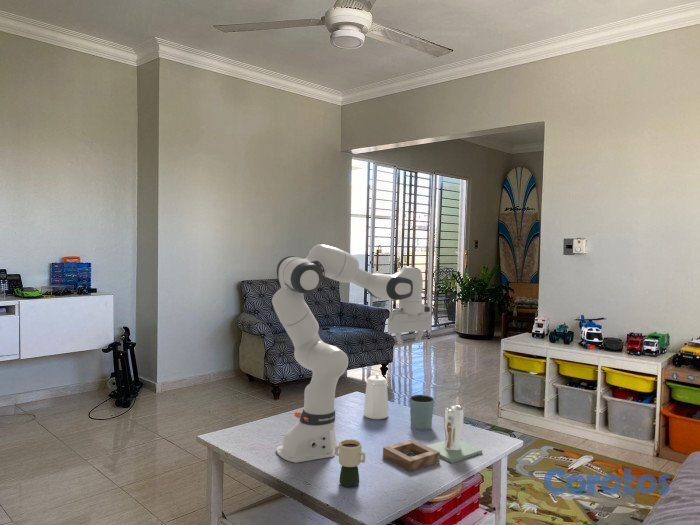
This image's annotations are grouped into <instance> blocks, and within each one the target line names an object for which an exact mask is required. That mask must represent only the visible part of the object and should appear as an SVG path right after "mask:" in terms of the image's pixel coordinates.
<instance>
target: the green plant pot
mask: <svg viewBox="0 0 700 525" xmlns="http://www.w3.org/2000/svg"><path fill="white" fill-rule="evenodd" d="M434 404H435V398H434V397H432V396H430V395H427V394H413V395H411V396H410V397H409V408H410V409H409V412H410V416H409V417H410V427H411V428H412V427H413V428H412V429H414V428H415V429H414V430H417V429H420V430H419V431H428V429H429V430H431V429H432V426H433V414H434Z"/></svg>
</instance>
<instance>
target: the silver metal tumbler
mask: <svg viewBox="0 0 700 525" xmlns="http://www.w3.org/2000/svg"><path fill="white" fill-rule="evenodd" d="M443 412H444V415H443V426H444V427H443V428H444V433H445V439H444V440H445V445H444V448H445V449H446V450H449V451H460V450H461V444H460V441H461V436H462V432H463V426H464V408H463V407H462V406H460V405H455V404H454V405H453V404H448V405H446V406H445V407H444V411H443Z"/></svg>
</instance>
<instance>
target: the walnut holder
mask: <svg viewBox="0 0 700 525" xmlns="http://www.w3.org/2000/svg"><path fill="white" fill-rule="evenodd" d="M411 452H412V454H414V456H409V455H408V454H411ZM407 453H408V454H407ZM382 458H384V459H385V460H387V461H389V462H391V463H393V464H395V465H396V464H397V465H396V466H398V467H401V468H402V469H403V470H406V471H407V472H409V473H410V472H414V471H416V470H417V471H418V470H420V469H423V468H425V467H428V466H432V465H436V464H438V463H440V460H441V458H440V452H438V451H436V450H434V449H432V448H430V447H427V445H425V444H423V443H421V442H418V441H416V440H415V439H413V438H412V439H408V440H405V441H402V442H398V443H394V444H391V445H387V446H383V447H382Z"/></svg>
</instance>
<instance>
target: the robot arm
mask: <svg viewBox="0 0 700 525" xmlns="http://www.w3.org/2000/svg"><path fill="white" fill-rule="evenodd" d="M324 278H328V279H330V280H332V281H336V282H339V283H346V284H350V283H352V284H354V285H356V286H359V287H360V288H363V289H365V290H366V292H367V293H368V294H369V296H371V297H373V298H376V299H385V300H390V301H399V302H398V308H393V309H391V310H390V312H389V317H388V322H387V331H388V333H389V334H394V336H395V338H396V340H397V342H396V344H397V345H403V344H404V339H402V333H403V334H404V333H412V332H414V333H415V332H417V335H416V336H415V338H414V339H415V340H414V342H415V343H420V342H422V337H423V335H424V331H430V330H431V327H432V314H431V312H432V307H431V306H429V305H426V304H425V303H423V299H422V298H423V297H422V292H423V289H424V288H423V286H424V285H423V274H422V269H420V268H418V267H414V266H409V265H404V266H402V267H401V268H400V270H398V271H397V272H394V273H392V274H389V273H387V274H386V273H381V272H373V273H372V272H369V271H366V270H365V269H362V268H360V263H359V260H358V258H357V257H355V256H354V255H352V254H351V253H349V252H347V251H345V250H343V249H340V248H338V247H334V246H331V245H328V244H327V245H326V244H323V243H322V244H321V243H320V244H316V245H314V246H313V247H312V248H311V249H310V250H309V252H308V255H307V256H306V257H305V258H301V257H298V256H294V255H291V256H286V257H283V258H281V260H279V261H278V263H277V265H276V282H277V283H276V285H277V286H278V287H279V289H278V290H277V291H276V292H275V293H274V294H273V295H272V299H271V303H272V306H273V309H274V312H275V314H276V316H277V318H278V320H279V322H280V324H281V325H282V327H283V328H284V330H285V331H286V334H287V335H288V337H289V339H290V341H291V342H292V346H293V347H294V350H293V356H294V359H295V361H296V362H297V363H298V364H299V365H300V366H301V367H302V368H304V369H307V370H309V371H311V372H312V376H311V378H310V379H311V380H310V382H309V384H307V385H306V386H305V388H304V391H303V392H304V395H303V396H304V399H303V409H302V412H300V411H299V410H296V411H294V413H293V416H294V417H296V418H297V419H299V420H298V421H297V422H296V423H295V424H294V425H293V426H292V427H291V428H290V429H289V430H288V431H286V432H285V434H284V435H283V442H282V444H280V445H279V446H277V447H276V454H277V455H278V456H279V457H281V458H282V459H284V460H285V461H288V462H291V463H295V464H297V463H302V462H308V461H315V460H320V459H327V458H333V457H335V456H336V455H335V447H336V445H338V444H337V439H336V430H335V423H336V422H335V421H336V409H335V399H336V398H335V397H336V396H335V395H336V388H337V384H338V381H339V379H340V378H341V376H342V375H344V374H345V373H346V371H347V369H348V366H349V357H348V354H347V353H345V351H343V350H342V349H341V348H339V347H338V346H336V345H332V344H329V343H327V342H324V341H323V340H322V339H321V337H320V335H319V330H320V325H319V322H318V321H317V319H316V317H315V316H314V313H313V312H312V310H311V309H310V307H309V305H308V304H307V302H306V300H305V296H304V295H305V294H306V295H307V294H311V293H315V292H316V291H317V290H318V289H319V287H320V286H321V284H322V281H323V280H324Z"/></svg>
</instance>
